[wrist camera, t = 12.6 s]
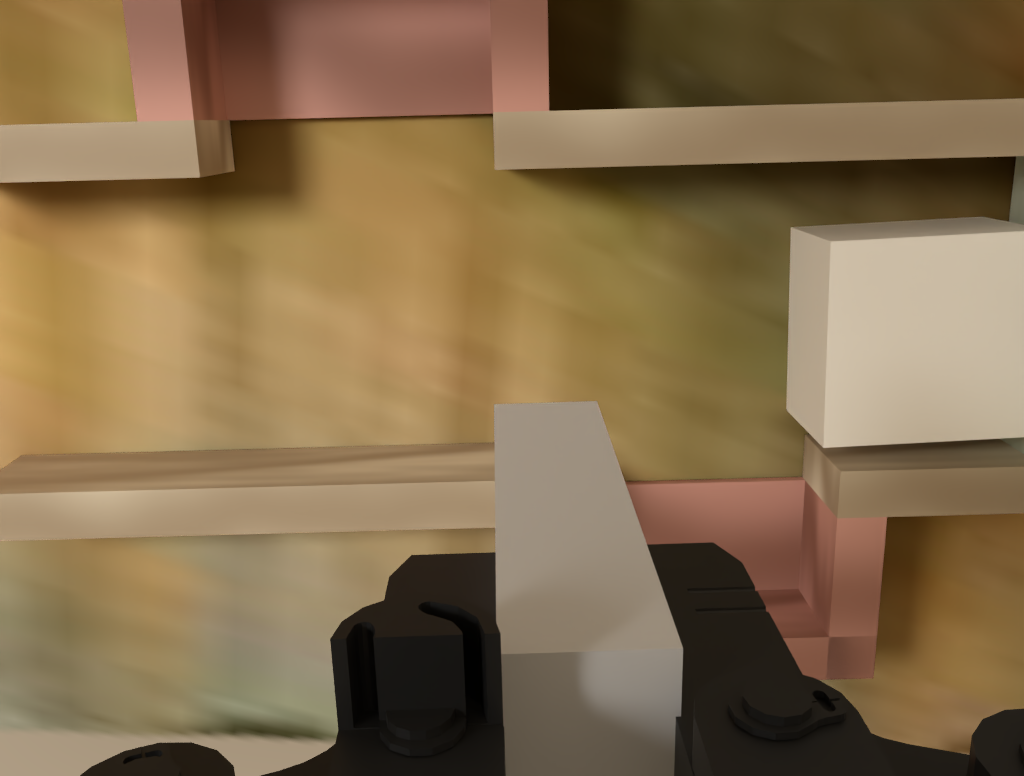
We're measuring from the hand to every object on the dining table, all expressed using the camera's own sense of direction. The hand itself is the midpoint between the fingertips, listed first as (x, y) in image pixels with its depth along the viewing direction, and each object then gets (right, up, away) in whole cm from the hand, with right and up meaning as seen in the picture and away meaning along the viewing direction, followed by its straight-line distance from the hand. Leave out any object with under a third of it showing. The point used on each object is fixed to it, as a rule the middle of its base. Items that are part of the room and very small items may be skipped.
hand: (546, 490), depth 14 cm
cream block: (+11, +4, +17) cm, 21 cm away
